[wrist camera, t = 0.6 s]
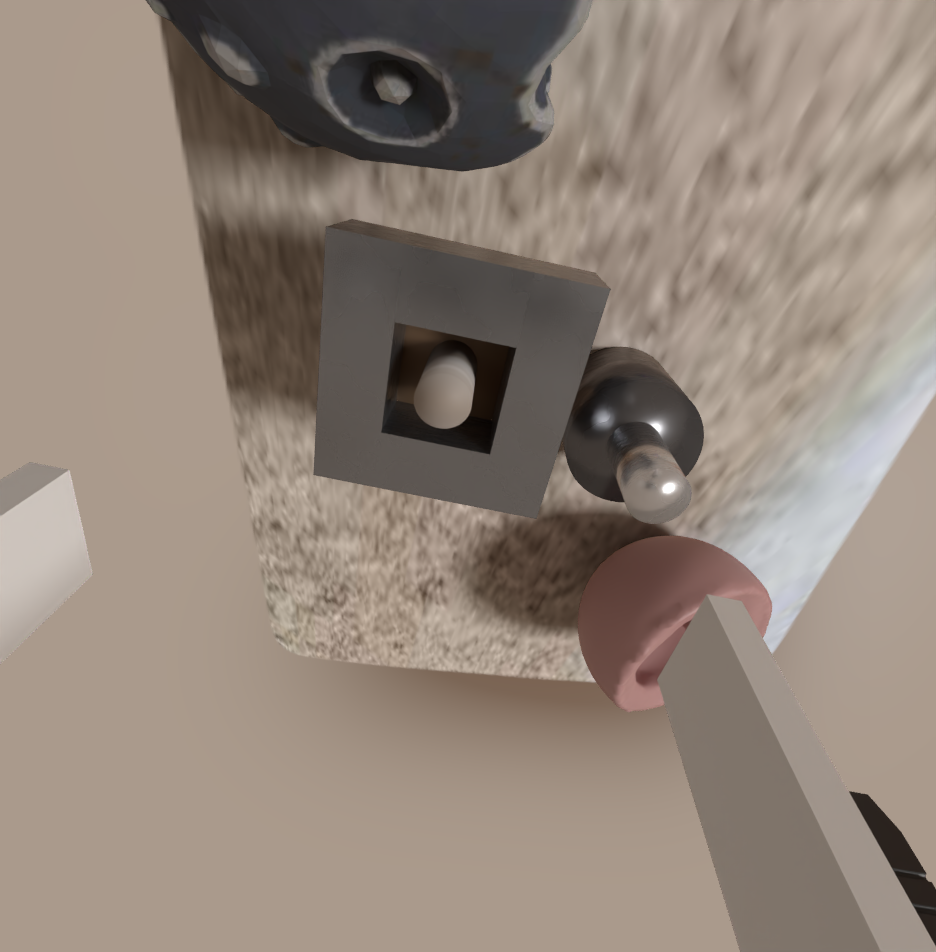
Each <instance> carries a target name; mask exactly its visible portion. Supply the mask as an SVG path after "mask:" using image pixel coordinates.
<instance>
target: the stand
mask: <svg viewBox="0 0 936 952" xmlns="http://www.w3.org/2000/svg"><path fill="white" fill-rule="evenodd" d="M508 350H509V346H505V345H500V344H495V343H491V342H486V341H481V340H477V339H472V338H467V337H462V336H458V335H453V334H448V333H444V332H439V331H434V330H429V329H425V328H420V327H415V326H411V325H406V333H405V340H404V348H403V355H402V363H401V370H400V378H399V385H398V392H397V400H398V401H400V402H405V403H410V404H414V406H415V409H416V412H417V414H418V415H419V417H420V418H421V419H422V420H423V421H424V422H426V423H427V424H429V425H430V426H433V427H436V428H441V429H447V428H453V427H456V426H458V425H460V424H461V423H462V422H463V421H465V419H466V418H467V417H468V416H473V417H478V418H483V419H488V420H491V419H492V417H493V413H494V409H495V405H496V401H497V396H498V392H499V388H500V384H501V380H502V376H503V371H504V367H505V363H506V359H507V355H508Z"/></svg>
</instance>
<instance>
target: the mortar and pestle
mask: <svg viewBox="0 0 936 952" xmlns="http://www.w3.org/2000/svg"><path fill="white" fill-rule="evenodd" d="M707 594H708V595H713V596H719V597H724V598H729V599H734V600H739V601H742V602H743V604H744V606H745V608H746V609H747V611H748V613H749V615H750V617H751V618H752V620H753V622H754V624H755V625H756V627H757V629H758V631H759V633H760V634H761V636H762V638H763V637H764V635H765V633H766V628H767V626H768V623H769V620H770V617H771V612H772V603H771V600H770V597H769V594H768V592H767V590H766V588H765V587H764V586H763V585H762V583H761V582H760V581H759V580H758V579H757V577H756V576H755V575H754V574H753V573H752V572H751V571H750V570H749V569H748V568H747V567H746V566H745V565H743V564H742V563H741V562H740V561H738V560H737V559H736V558H734V557H733V556H732V555H730V554H729V553H727V552H725V551H724V550H722V549H720V548H718V547H716V546H714V545H711V544H709V543H706V542H703V541H700V540H697V539H693V538H688V537H681V536H656V537H650V538H646V539H642V540H638V541H635V542H633V543H631V544H628V545H626V546H624V547H622V548H621V549H619V550H617V551H615V552H614V553H613V554H612V555H610V556H609V557H608V558H607V559H606V560H605V561H604V562H603V563H602V564H600V565H599V567H598V568H597V569H596V571H595V572H594V573H593V575H592V576H591V578H590V579H589V581H588V583H587V585H586V587H585V589H584V592H583V595H582V598H581V602H580V606H579V613H578V634H579V642H580V646H581V650H582V654H583V656H584V659H585V661H586V664H587V666H588V668H589V670H590V672H591V674H592V676H593V678H594V679H595V681H596V682H597V684H598V685H599V687H600V688H601V689H602V690H603V692H604V693H605V694H606V695H607V696H608V697H609V698H610V699H611V700H612V701H613V702H614V703H615V705H616V706H617V707H619V708H621V709H623V710H625V711H627V712H631V711H641V710H647V709H651V708H656V707H659V706H662V705H665V704H664V701H663V697H662V694H661V691H660V687H659V684H658V681H657V679H658V677H659V675H660V674H661V672H662V670H663V668H664V667H665V665H666V663H667V662H668V660H669V658H670V656H671V655H672V653H673V651H674V650H675V648H676V646H677V644H678V643H679V641H680V639H681V638H682V636H683V634H684V632H685V631H686V629H687V627H688V626H689V624H690V622H691V620H692V619H693V617H694V615H695V614H696V612H697V610H698V608H699V607H700V605H701V603H702V602H703V600H704V598H705V596H706V595H707Z"/></svg>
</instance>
